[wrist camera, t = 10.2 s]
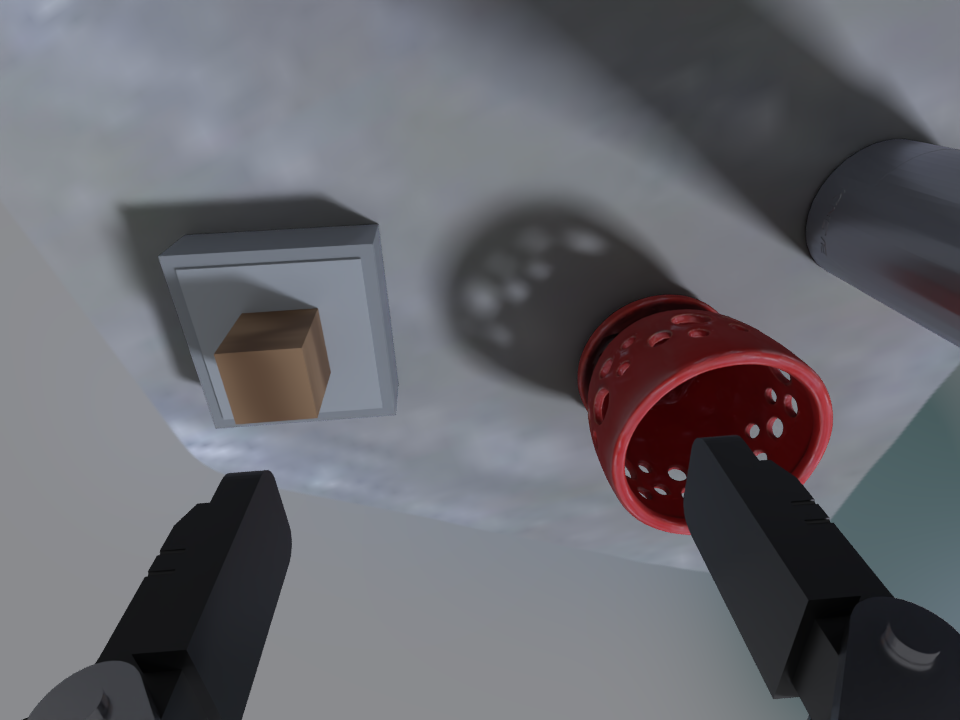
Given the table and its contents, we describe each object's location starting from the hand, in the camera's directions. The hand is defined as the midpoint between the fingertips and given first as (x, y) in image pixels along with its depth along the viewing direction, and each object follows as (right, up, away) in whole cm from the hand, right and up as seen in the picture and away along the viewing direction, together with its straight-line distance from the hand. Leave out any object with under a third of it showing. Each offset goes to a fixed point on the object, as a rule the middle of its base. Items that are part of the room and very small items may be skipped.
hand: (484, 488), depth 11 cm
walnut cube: (-12, +3, +24) cm, 27 cm away
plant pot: (+13, +3, +31) cm, 34 cm away
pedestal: (-12, +5, +27) cm, 30 cm away
